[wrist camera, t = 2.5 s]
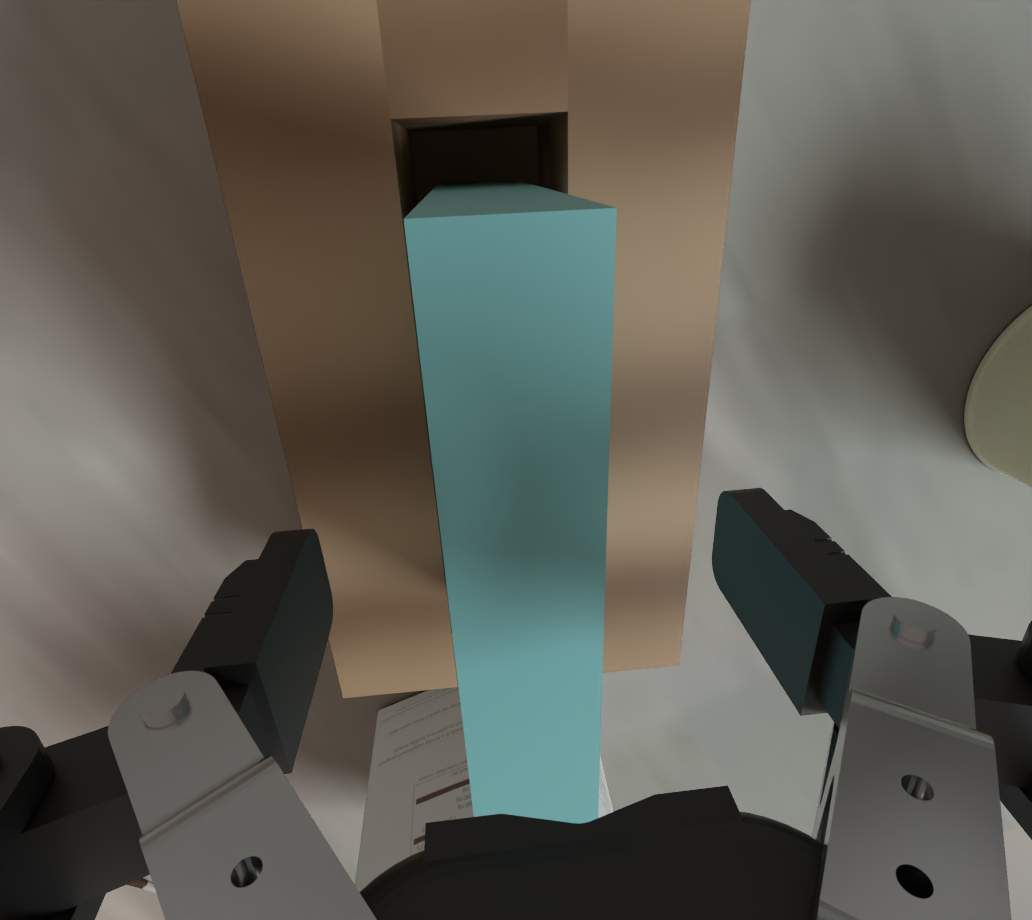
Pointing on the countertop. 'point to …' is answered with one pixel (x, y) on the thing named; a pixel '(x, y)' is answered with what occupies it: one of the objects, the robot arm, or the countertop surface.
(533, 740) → the cover plate
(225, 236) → the countertop surface
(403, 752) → the supplement box
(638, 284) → the slot box
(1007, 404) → the can
